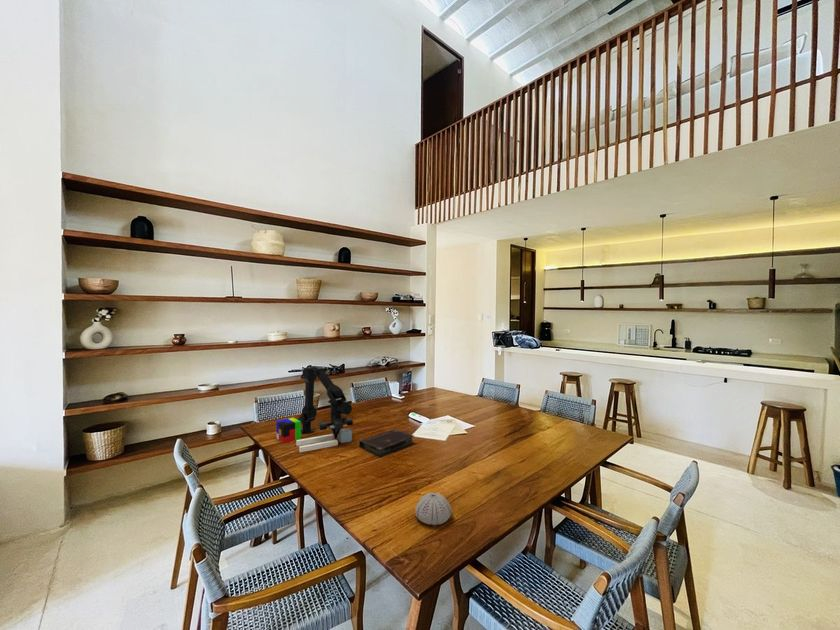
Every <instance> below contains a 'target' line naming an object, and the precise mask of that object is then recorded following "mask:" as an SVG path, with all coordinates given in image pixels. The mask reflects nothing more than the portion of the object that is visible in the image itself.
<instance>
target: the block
mask: <svg viewBox="0 0 840 630" xmlns="http://www.w3.org/2000/svg"><path fill="white" fill-rule="evenodd" d="M352 434H353V431H352V430H351V429H350V428H349V427H347V428H341V429H340V431H339V433H338V436H337V440H338V442H339V443H340V444H343V443H349V442H352V441H353V440H352V439H353V435H352Z"/></svg>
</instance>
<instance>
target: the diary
mask: <svg viewBox="0 0 840 630" xmlns="http://www.w3.org/2000/svg"><path fill="white" fill-rule="evenodd" d="M414 437H415V435H414V434H412V433H409V432H405V431H402V430H398V429H395V428H394V429H391V430H389V431H386V432H382V433H378V434H375V435H373V436H370V437H367V438H364V439H360V440H359V442H358V444H359V445H358V446H359V449H360V448H361V449H364V450H366V451H368V453H370V454H372V455H374V456H375V457H378V458H381V457H384V456H386V455H389V454H393V453H394V452H396V451H400V450H402V449H404V448H407V447H410V446H412V445H415V443H414V442H413V438H414Z"/></svg>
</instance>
